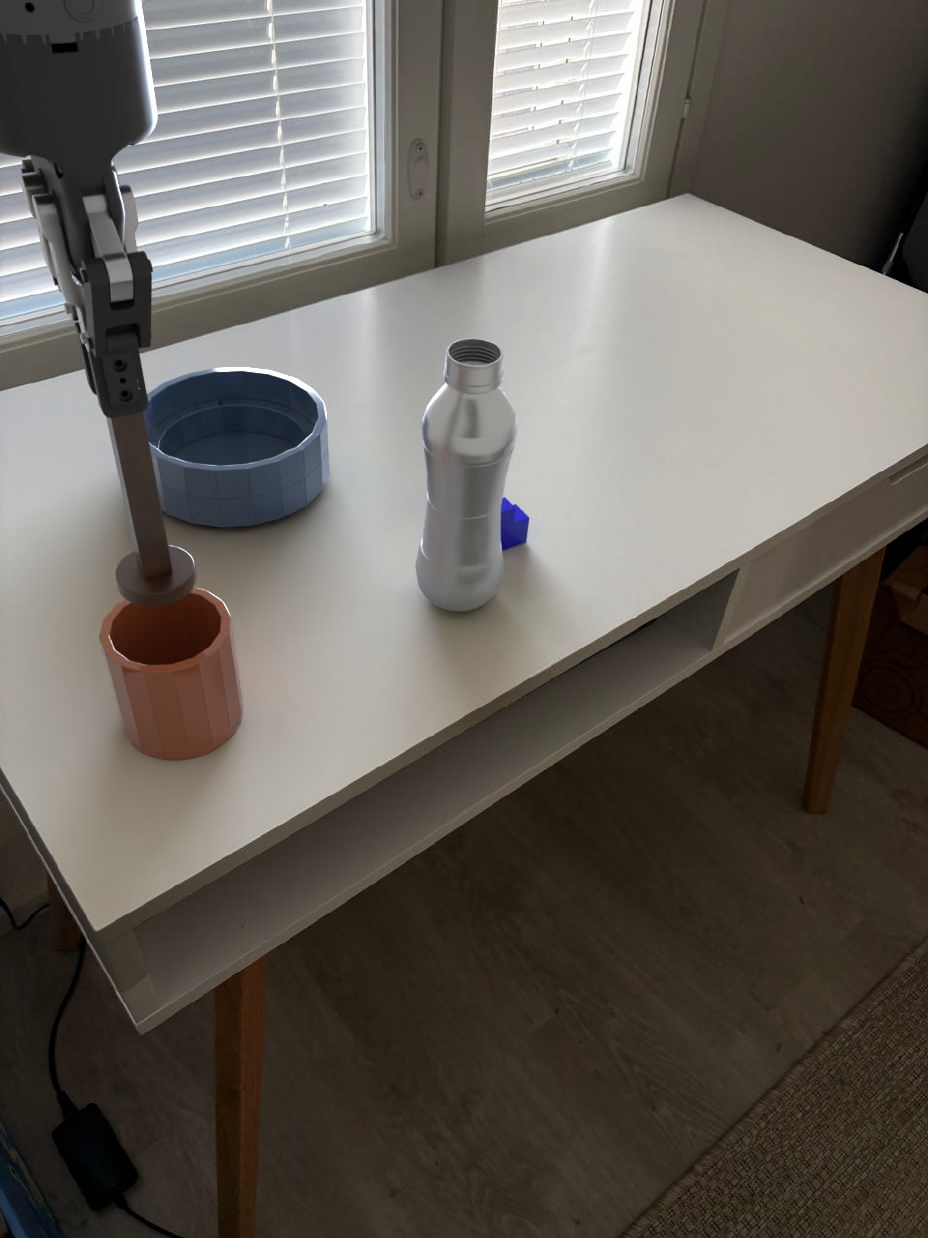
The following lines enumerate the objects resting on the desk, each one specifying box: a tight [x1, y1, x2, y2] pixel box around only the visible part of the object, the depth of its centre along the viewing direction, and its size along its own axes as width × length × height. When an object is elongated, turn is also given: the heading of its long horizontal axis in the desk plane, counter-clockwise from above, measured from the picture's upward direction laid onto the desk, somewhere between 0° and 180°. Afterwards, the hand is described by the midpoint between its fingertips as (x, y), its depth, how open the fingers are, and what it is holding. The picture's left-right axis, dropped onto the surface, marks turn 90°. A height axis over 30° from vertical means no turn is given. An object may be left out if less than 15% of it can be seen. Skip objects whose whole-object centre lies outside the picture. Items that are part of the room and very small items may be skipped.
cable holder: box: [501, 496, 530, 552], centre depth 82 cm, size 8×4×4 cm, turn 31°
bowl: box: [143, 366, 330, 528], centre depth 84 cm, size 15×15×6 cm
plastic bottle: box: [415, 337, 519, 612], centre depth 69 cm, size 6×7×20 cm
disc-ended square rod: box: [105, 412, 198, 607], centre depth 52 cm, size 4×4×17 cm
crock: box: [98, 586, 244, 761], centre depth 63 cm, size 8×8×8 cm
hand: (119, 399), depth 50 cm, fingers closed on disc-ended square rod
